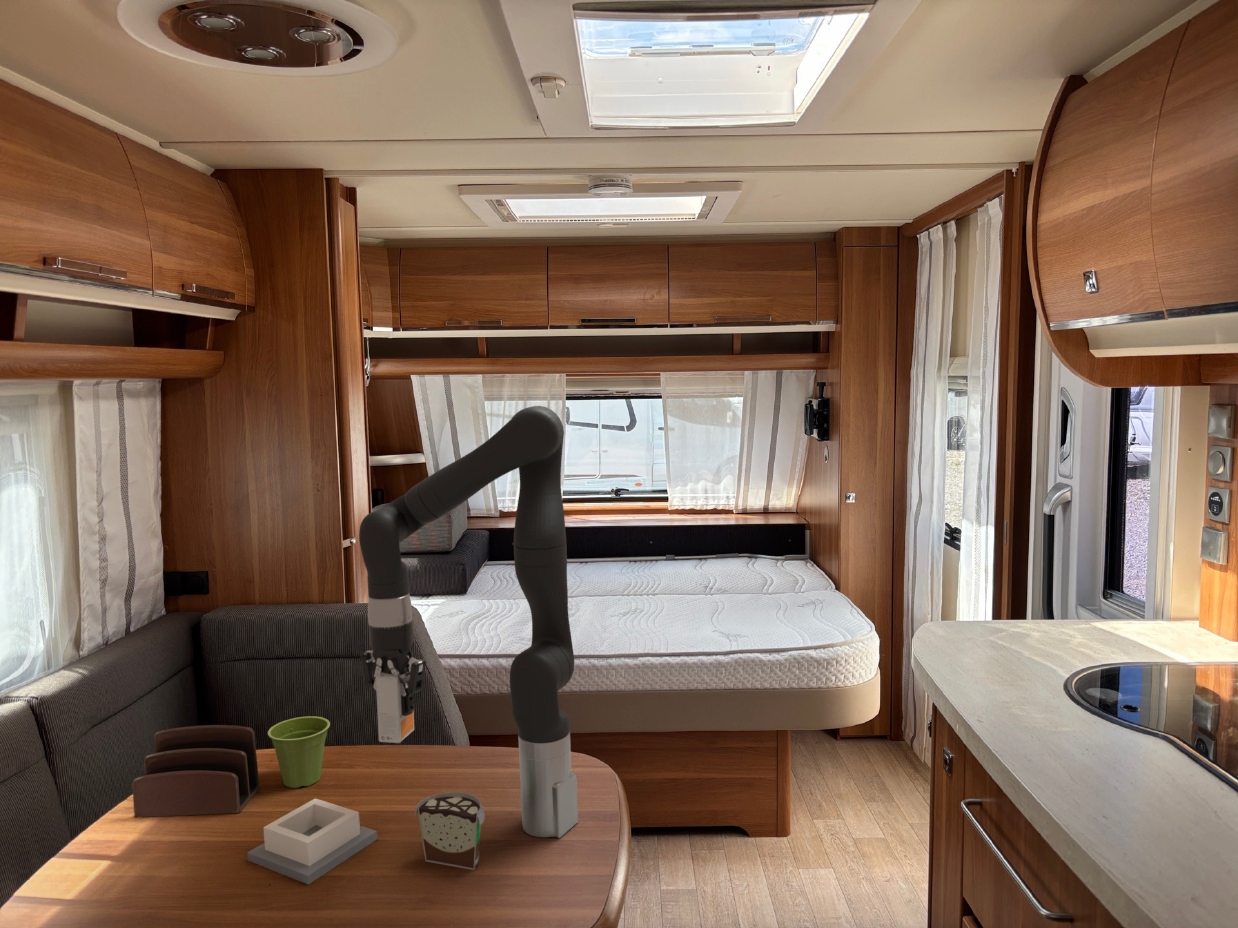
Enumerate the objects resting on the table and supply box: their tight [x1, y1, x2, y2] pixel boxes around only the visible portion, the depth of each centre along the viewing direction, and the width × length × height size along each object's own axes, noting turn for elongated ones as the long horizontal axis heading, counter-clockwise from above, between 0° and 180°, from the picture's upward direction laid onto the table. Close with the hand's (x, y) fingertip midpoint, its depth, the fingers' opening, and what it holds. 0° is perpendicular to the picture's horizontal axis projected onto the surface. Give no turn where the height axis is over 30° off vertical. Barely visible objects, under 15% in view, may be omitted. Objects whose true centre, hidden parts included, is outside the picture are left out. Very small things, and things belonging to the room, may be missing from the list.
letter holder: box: [131, 724, 260, 819], centre depth 163 cm, size 10×20×14 cm, turn 92°
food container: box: [414, 791, 486, 871], centre depth 142 cm, size 12×6×10 cm, turn 71°
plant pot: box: [267, 715, 331, 789], centre depth 171 cm, size 12×12×11 cm
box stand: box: [246, 798, 378, 885], centre depth 145 cm, size 15×15×6 cm
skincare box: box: [375, 672, 415, 744], centre depth 151 cm, size 6×4×12 cm
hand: (395, 711), depth 151 cm, fingers closed on skincare box, 5 cm apart
